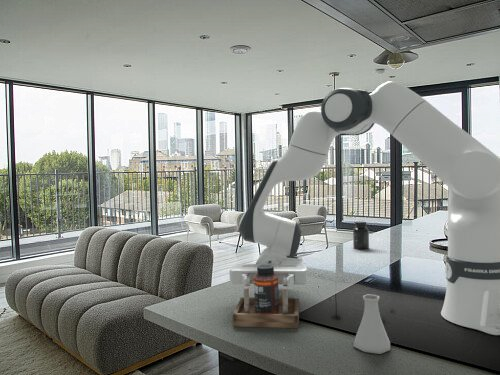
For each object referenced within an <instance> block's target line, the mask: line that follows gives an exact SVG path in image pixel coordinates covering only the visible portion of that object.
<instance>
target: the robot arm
mask: <svg viewBox="0 0 500 375" xmlns="http://www.w3.org/2000/svg"><path fill="white" fill-rule="evenodd" d="M320 106H321V107H320V109H316V108H315V109H309V110H306V111H304V112H303V113H302V114H301V116H300V117H299V119H298V122H297V123H296V126H295V127H294V130H293V133H292V135H291V138H290V141H289V144H288V147H287V149H286V151H285V152H284V153H283V155H281V157H279V158H275V159H273V160H272V162H271V163H270V165H269V166H268V167H267V169H266V172H265V174H264V175H263V178H262V179H261V181H260V184H259V186H258V187H257V189H256V191H255V193H254V194H253V198H252V199H251V202H250V203H249V206H248V208H247V209H245V212H244V213H243V214H242V216H241V218H240V219H239V223H238V230H237V231H238V233H239V234H240V236H241V238H242V239H243V241H246V242H249V243H253V244H259V245H262V246H265V248H264V249H263V250H262V251H261V252H260V253H259V254H260V255H259V256H258V258H257V260H256V262H255V263H241V264H236V265H234V266H232V267H231V268H230V269H229V282H230V283H231V284H234V285H243V286H244V287H250V286H252V285H254V276H255V275H257V273H258V272H257V267H258V266H259V265H265V264H268V265H273V266H274V274H276V275H277V276H278V285H282V286H283V287H290V285H307V284H309V269H308V268H309V267H308V266H307V264H306V263H305V262H304V261H303V258H302V257H301V256H296V255H297V253H298V250H299V248H300V243H301V238H302V237H301V236H302V229H301V226H300V225H299V223H298V221H296V220H293V219H290V218H287V217H283V216H280V215H276V214H274V213H270V212H267V211H265V210H264V206H265V204H266V202H267V201H268V199H269V197H270V195H271V192H272V190H273V189H274V187H275V186H277V185H278V184H281V183H285V182H294V181H295V182H296V181H297V182H298V181H306V180H309V179H312V178H314V177H316V176H317V175H318V174H320V173H321V171H322V169H323V167H324V166H325V163H326V160H327V157H328V154H329V151H330V147H331V144H332V142H333V141H334V139H335V138H336V137H337V136H360V135H364V134H365V133H367V132H369V131H370V130H371V129H372V128H374V126H375V124H377V125H378V126H380V127H382V128H383V129H384V130H385V131H387V132H388V133H389V134H390V135H391V136H392V137H393V138H394V139H396V140H397V141H398V142H399V143H400V144H401V145H403V146H404V147H405V148H406V149H407V150H408V151H409V152H410V153H412V154H413V155H414V156H415V157H416V158H417V159H418V160H419V161H420V162H421V163H422V164H423V165H424V166H425V167H426V168H428V170H429V171H431V172H432V173H433V174H434V175H435V176H436V177H437V178H439V180H440V181H442V183H443V184H445V185H446V186H447V188H448V190H447V191H448V192H447V193H448V194H447V195H448V197H447V199H448V200H447V255H446V256H445V268H444V270H445V278H446V281H447V282H446V289H445V296H444V301H443V306H442V308H441V311H440V314H441V317H443V318H444V319H445V320H447V321H448V322H451V323H453V324H456V325H458V326H461V327H464V328H465V327H466V328H469V329H473V330H478V331H480V332H484V333H486V334H488V335H493V336H500V157H499V156H497V154H496V153H494V152H493V151H491V149H489V148H487V146H485V145H484V144H482V143H481V142H480V141H479V140H478V139H476V137H475V138H474V136H472V135H471V134H469V133H468V132H467V131H465V129H463V128H461V127H460V126H458V124H456V123H455V122H453V121H452V120H451V119H449V118H448V117H447V116H446V115H445V114H443V113H442V112H441V111H440V110H438V109H437V108H436V107H435V106H434V105H432V104H431V103H430V102H429V101H427V100H426V99H425V98H424V97H423V96H421V95H419V94H418V93H416V92H415V91H413V90H412V89H410V88H408V86H407V87H406V86H405V85H403V84H402V83H400V82H398V81H391V80H390V81H387V82H383V83H381V84H380V85H379V86H377V87H376V89H374V91H372V92H371V93H369V92H368V91H367V90H363V89H359V88H358V89H356V88H351V87H339V88H335V89H333V90H330V92H328V93H327V94H326V95H325V96H324V98H323V100H322V102H321V105H320Z"/></svg>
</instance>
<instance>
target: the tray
mask: <svg viewBox="0 0 500 375" xmlns="http://www.w3.org/2000/svg"><path fill="white" fill-rule="evenodd" d="M281 290H282V292H281V293H282V294H281V295H282V296H281V297H279V312H278V313H277V314H257V313H256V312H255V298H254V297H250V288H249V287H243V296H242V297H240V299H239V301H238V304H237V306H236V307H235V309H234V311H233V312H232V327H241V328H242V327H245V328H247V327H248V328H250V327H251V328H280V329H281V328H282V329H283V328H284V329H285V328H286V329H287V328H288V329H290V328H291V329H300V328H299V327H300V299H299V298H296V297H295V298H294V297H291V298H290V297H288V296H289V294H288V288H286V287H283V288H281Z"/></svg>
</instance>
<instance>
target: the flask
mask: <svg viewBox="0 0 500 375" xmlns="http://www.w3.org/2000/svg"><path fill="white" fill-rule="evenodd" d="M362 300H363V302H364V307H363V308H364V309H363V314H362V315H363V316H362V317H361V322H360V324H359V327H358V330H357V332H356V335H355V338H354V342H353V346H352V347H353V348H356V349H358V350H359V351H362V352H364V353H369V354H379V355H381V354H384V353H386V352H389V351H391V341H390V339H389V337H388V334H387V331H386V329H385V326H384V323H383V320H382V318H381V315H380V309H379V301H380V295H377V294H371V293H370V294H369V293H367V294H363V296H362Z"/></svg>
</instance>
